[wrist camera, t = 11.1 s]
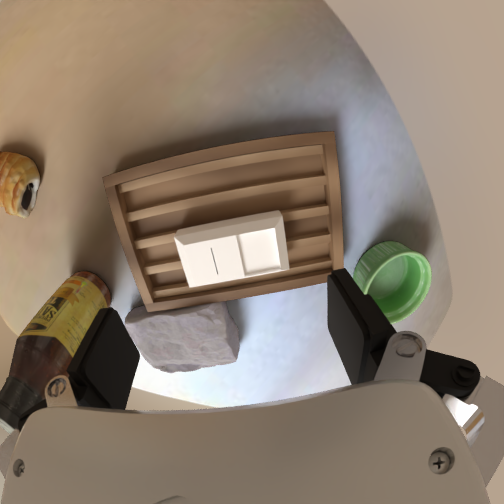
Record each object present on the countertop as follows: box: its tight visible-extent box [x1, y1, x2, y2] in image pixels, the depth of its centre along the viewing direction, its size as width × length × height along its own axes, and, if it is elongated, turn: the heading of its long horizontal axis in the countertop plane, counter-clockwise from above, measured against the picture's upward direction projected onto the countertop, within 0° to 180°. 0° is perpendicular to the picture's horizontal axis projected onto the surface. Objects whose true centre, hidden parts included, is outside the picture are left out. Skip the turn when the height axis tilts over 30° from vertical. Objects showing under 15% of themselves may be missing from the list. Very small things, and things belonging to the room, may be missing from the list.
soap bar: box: [174, 210, 290, 288], centre depth 23 cm, size 5×9×3 cm, turn 100°
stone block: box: [125, 301, 240, 373], centre depth 29 cm, size 12×5×10 cm
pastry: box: [0, 152, 40, 219], centre depth 19 cm, size 9×7×4 cm
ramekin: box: [353, 241, 432, 324], centre depth 27 cm, size 9×9×4 cm
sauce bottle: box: [0, 271, 111, 434], centre depth 18 cm, size 6×6×20 cm
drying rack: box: [102, 131, 344, 312], centre depth 24 cm, size 14×20×2 cm
